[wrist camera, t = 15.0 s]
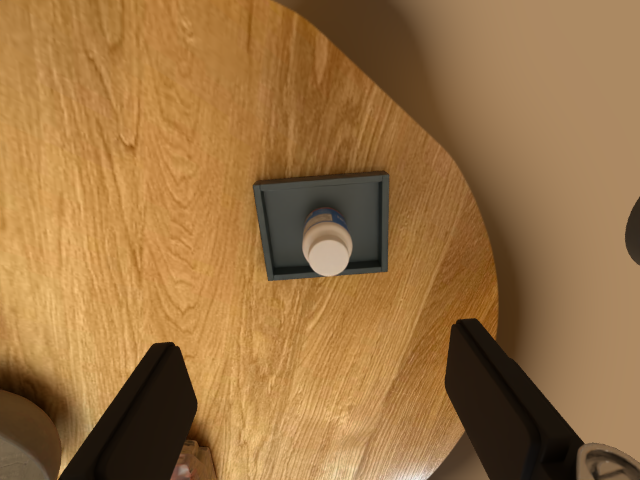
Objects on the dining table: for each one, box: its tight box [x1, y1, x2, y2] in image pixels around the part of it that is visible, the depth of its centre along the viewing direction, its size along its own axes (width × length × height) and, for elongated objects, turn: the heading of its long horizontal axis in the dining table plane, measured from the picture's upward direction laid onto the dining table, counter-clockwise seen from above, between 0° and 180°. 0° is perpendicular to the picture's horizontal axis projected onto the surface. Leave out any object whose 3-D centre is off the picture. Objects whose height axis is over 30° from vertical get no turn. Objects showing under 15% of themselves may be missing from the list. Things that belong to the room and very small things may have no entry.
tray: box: [253, 171, 389, 281], centre depth 37 cm, size 16×13×3 cm
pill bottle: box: [302, 207, 352, 276], centre depth 33 cm, size 6×5×10 cm
